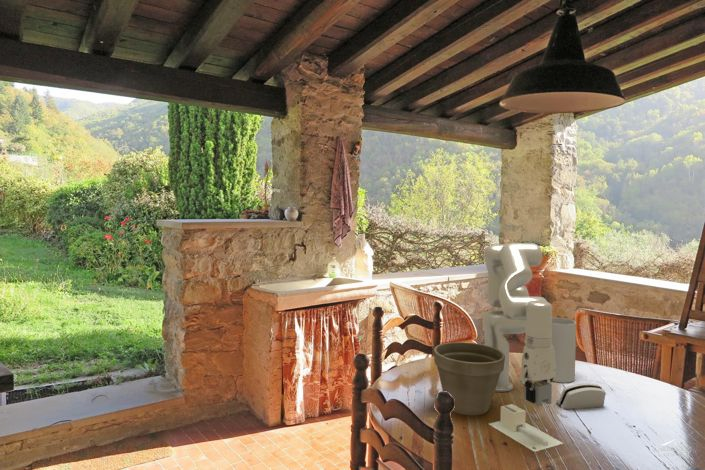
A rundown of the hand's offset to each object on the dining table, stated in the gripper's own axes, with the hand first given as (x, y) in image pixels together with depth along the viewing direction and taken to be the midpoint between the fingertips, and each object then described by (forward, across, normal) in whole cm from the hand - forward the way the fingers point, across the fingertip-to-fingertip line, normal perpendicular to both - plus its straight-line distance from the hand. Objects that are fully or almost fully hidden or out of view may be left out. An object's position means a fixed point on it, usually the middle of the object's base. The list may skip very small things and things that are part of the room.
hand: (537, 399), depth 144 cm
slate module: (+1, 0, 0) cm, 1 cm away
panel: (+14, 0, +5) cm, 15 cm away
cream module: (+13, 0, +10) cm, 17 cm away
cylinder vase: (+14, +53, +38) cm, 67 cm away
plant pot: (+14, -3, +29) cm, 33 cm away
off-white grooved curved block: (+14, +37, +14) cm, 42 cm away
